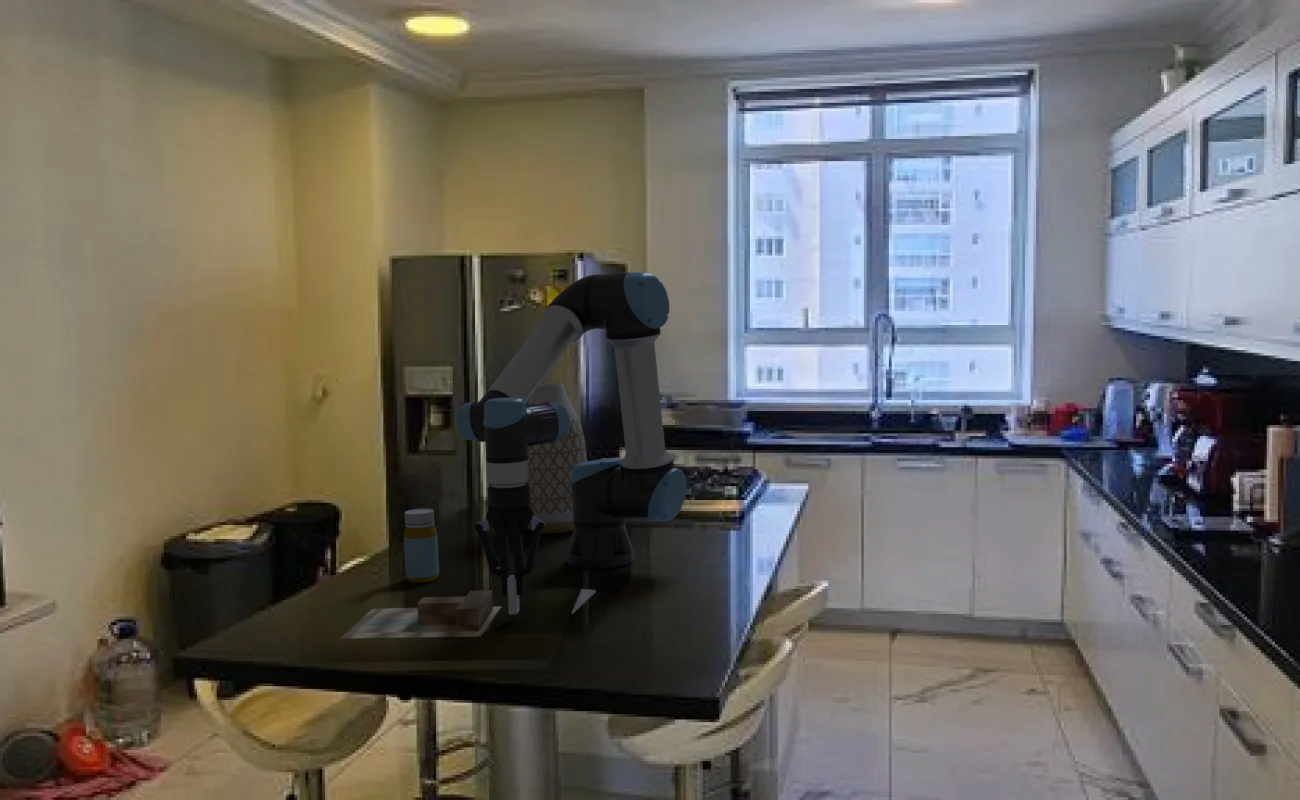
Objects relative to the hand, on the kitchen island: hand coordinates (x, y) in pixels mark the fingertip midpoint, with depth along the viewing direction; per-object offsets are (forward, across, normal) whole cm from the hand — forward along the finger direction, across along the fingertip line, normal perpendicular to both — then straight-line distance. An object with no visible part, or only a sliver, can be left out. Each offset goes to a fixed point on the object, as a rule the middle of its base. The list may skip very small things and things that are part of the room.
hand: (514, 612), depth 190 cm
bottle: (+3, +26, -35) cm, 44 cm away
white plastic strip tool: (+3, -9, -15) cm, 18 cm away
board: (+3, +17, 0) cm, 17 cm away
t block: (+2, +11, 0) cm, 11 cm away
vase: (+3, +5, -84) cm, 84 cm away
